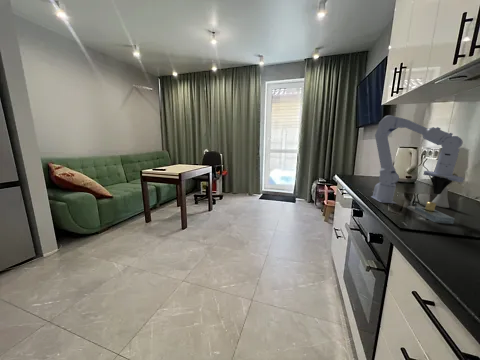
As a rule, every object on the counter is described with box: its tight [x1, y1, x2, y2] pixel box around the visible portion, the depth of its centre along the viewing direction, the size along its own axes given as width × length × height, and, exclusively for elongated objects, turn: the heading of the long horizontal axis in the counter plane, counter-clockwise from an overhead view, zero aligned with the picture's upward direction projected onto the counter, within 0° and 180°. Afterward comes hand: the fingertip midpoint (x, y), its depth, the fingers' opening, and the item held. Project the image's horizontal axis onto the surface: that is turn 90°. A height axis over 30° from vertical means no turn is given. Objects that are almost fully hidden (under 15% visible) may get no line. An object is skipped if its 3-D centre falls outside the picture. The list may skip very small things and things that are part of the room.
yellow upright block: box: [424, 201, 437, 212], centre depth 89 cm, size 3×3×6 cm
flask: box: [431, 186, 450, 209], centre depth 104 cm, size 7×7×10 cm
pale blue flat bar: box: [406, 205, 456, 225], centre depth 89 cm, size 16×7×2 cm, turn 174°
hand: (436, 193), depth 90 cm, fingers closed
